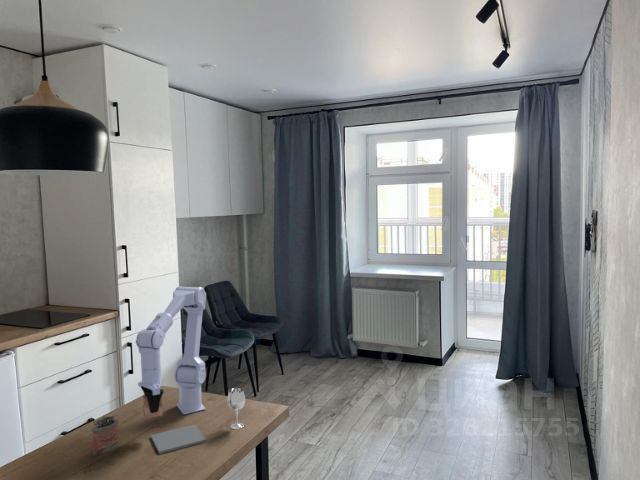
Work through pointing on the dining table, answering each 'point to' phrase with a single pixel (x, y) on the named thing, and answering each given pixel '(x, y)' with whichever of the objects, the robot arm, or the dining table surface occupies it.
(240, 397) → the wineglass
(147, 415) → the block
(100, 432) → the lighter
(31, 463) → the dining table surface
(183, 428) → the mat
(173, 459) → the dining table surface
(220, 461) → the dining table surface
